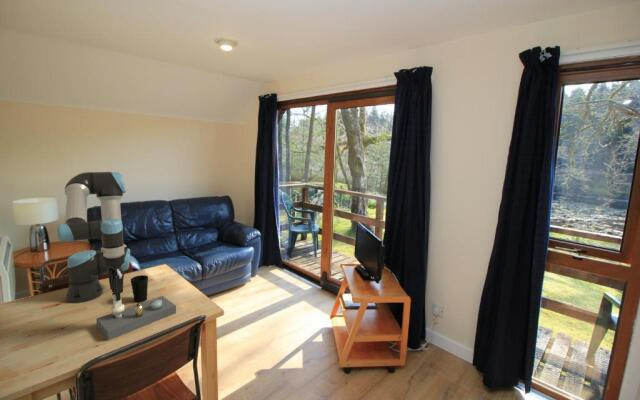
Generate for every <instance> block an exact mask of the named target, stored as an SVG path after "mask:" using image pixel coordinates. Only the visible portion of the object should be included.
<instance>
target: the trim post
mask: <svg viewBox="0 0 640 400" xmlns="http://www.w3.org/2000/svg"><path fill="white" fill-rule="evenodd" d="M141 303H142V302H141ZM141 303H136V304H134V305H135V314H136V317H137V318H139V317H142V316H143V308H142V304H141Z"/></svg>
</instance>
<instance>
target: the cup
mask: <svg viewBox="0 0 640 400" xmlns="http://www.w3.org/2000/svg"><path fill="white" fill-rule="evenodd" d="M130 285H131V291H132V293H133V301H134V303H136V304H138V303H143V302H146V301H148V286H149V276H148V275H146V274H145V275H144V274H141V275H136V276H133V277H131V278H130Z"/></svg>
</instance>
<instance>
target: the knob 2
mask: <svg viewBox="0 0 640 400" xmlns="http://www.w3.org/2000/svg"><path fill="white" fill-rule="evenodd" d="M150 307H151V309H153V310H157V309H160V308H161V307H162V300H154V301H152V302H151V303H150Z"/></svg>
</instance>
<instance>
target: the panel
mask: <svg viewBox="0 0 640 400" xmlns="http://www.w3.org/2000/svg"><path fill="white" fill-rule="evenodd" d="M154 300H162V307H161V308H160V309H157V310H153V309H151V307H150V303H151V302H152V301H154ZM141 304H142V308H143V316H142V317H139V318H137V317H136V314H135V305H136V304H134V305H131V306H130V307H129V306H128V307H126V308H125V311H124V312H123V313H122V317H120V318H117V319H115V315H114V314H112V312H111V313H108V314H106V315H103V316H100V317H98V318H96V327H97V329H98V330H99V332H101V333H102V336H105V338H106V340H107V341H110V340H113V339H116V338H119V337H120V336H123V335H125V334H128V333H131V332H133V331H135V330H138V329H140V328H143V327H145V326H147V325H150V324H152V323H155V322H158V321H160V320H162V319H165V318H168V317H169V316H172V315H175V314H177V304H175V303H173V302H172V301H171V300H169V299H168V298H166V297H165V296H164V295H160V296H158V297H155V298H151V299H150V300H146V301H144V302H141Z"/></svg>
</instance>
